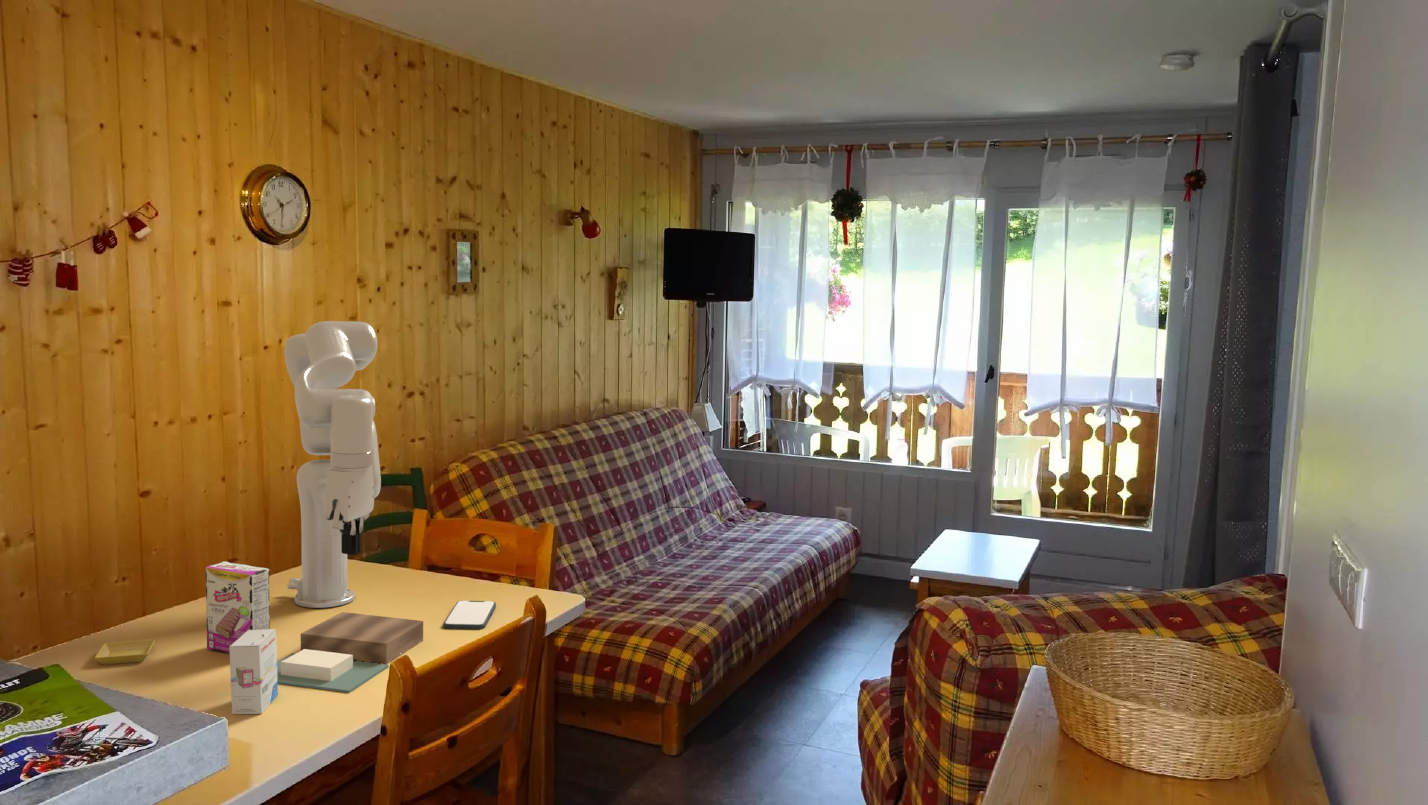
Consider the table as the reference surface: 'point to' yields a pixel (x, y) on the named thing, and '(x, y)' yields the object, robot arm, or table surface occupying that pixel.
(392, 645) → the block
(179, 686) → the table surface
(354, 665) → the mat
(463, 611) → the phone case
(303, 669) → the tile
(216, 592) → the candy bar box
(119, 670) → the table surface
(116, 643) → the yellow square dish
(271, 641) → the ink box
